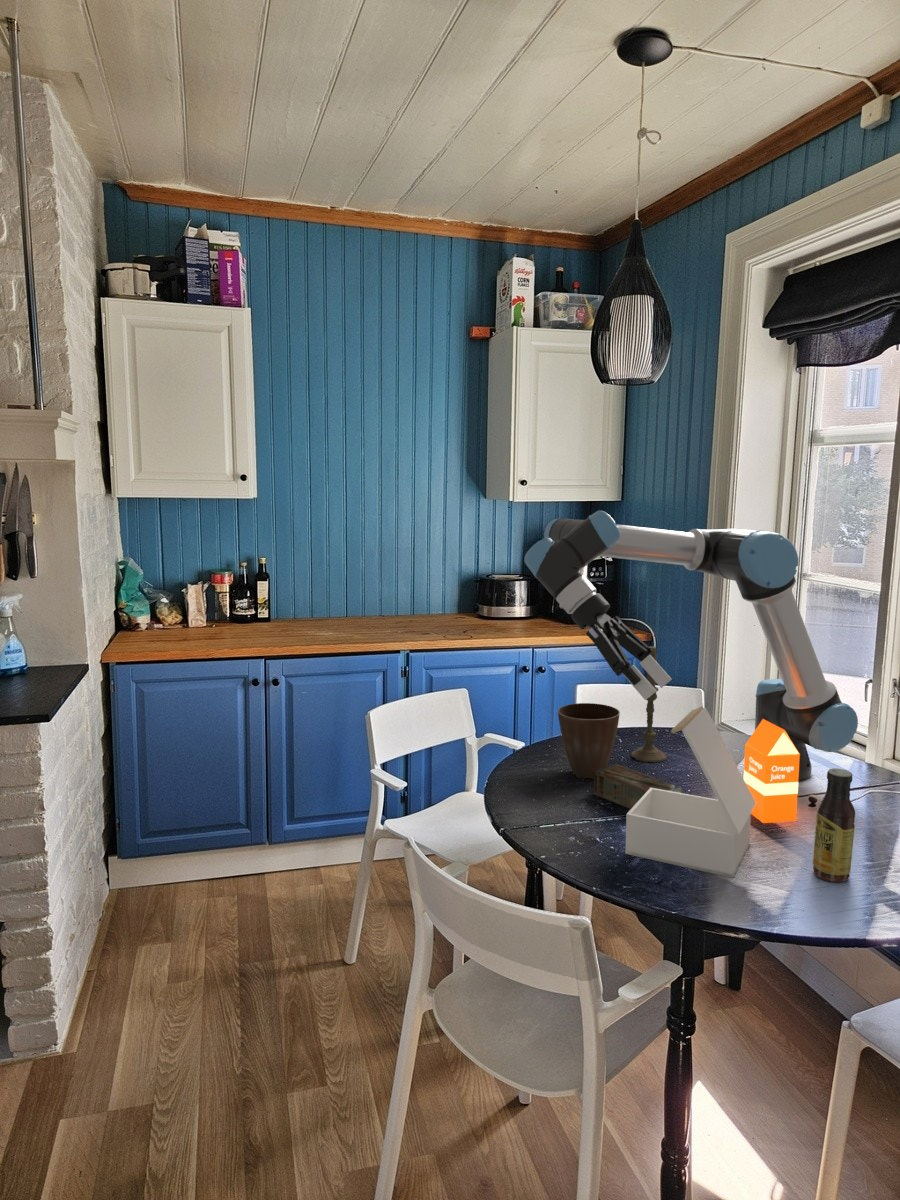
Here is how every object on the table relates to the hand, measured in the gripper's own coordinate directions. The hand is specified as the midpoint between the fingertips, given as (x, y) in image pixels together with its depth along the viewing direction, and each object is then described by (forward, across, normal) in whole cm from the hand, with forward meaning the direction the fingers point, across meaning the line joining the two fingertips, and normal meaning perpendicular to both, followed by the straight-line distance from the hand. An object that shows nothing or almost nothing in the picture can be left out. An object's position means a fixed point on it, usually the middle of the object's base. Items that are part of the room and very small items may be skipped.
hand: (659, 689), depth 158 cm
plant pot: (+4, -30, -40) cm, 51 cm away
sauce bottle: (+45, -1, +1) cm, 45 cm away
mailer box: (+27, 0, -17) cm, 32 cm away
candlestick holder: (+11, -50, -33) cm, 61 cm away
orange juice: (+34, -26, -10) cm, 44 cm away
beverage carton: (+16, -18, -29) cm, 38 cm away
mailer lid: (+17, 0, -3) cm, 18 cm away
